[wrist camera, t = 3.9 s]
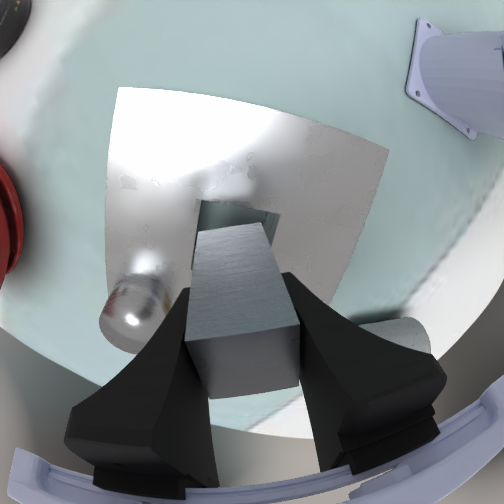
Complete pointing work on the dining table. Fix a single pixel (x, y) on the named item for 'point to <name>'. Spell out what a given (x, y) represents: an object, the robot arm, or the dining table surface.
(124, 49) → the dining table surface
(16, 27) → the supplement bottle
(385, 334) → the ceramic mug
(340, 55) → the dining table surface
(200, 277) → the metal block
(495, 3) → the dining table surface
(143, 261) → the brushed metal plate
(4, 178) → the plant pot
